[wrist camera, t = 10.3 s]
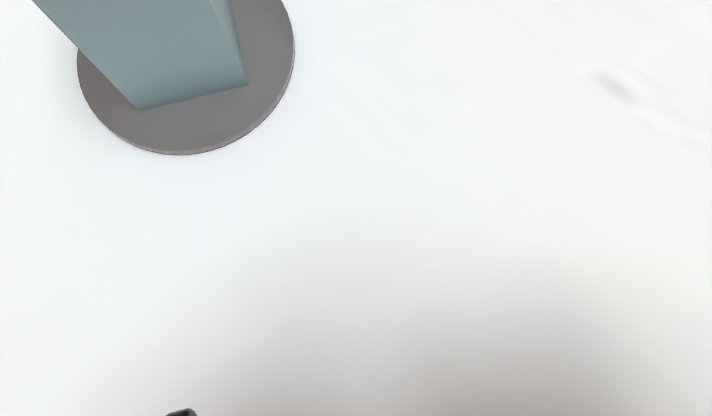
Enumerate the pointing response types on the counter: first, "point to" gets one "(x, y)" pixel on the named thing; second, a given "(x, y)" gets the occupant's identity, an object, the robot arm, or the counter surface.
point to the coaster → (210, 112)
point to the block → (155, 45)
